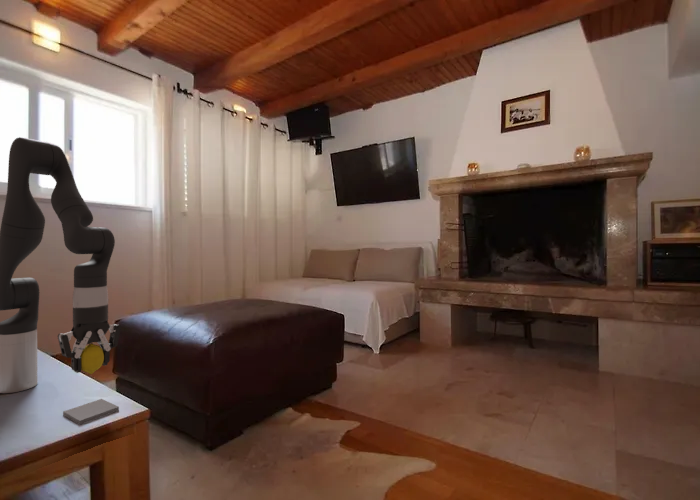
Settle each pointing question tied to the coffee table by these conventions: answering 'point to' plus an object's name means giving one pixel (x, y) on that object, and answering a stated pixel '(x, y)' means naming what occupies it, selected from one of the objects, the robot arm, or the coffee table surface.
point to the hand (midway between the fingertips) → (91, 368)
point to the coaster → (90, 411)
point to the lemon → (91, 358)
